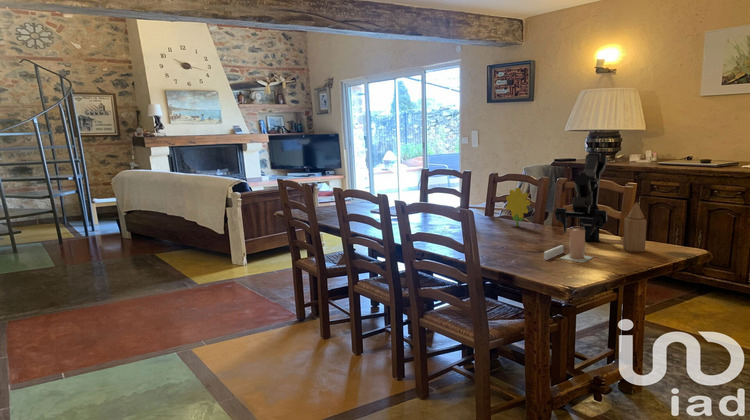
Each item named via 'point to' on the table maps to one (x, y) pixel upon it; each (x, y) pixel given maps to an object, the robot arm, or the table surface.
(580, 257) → the tan round cylinder
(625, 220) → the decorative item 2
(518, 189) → the decorative item
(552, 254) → the low wall
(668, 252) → the table surface
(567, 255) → the tile
